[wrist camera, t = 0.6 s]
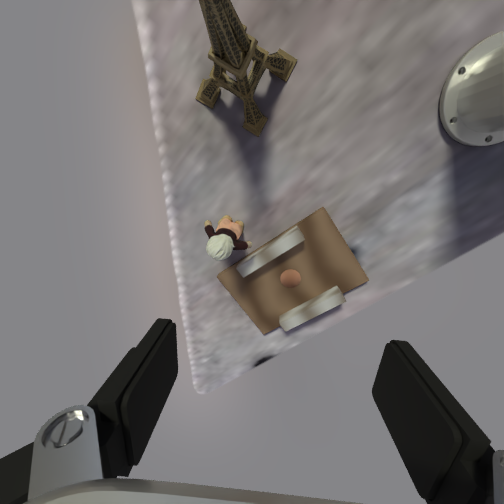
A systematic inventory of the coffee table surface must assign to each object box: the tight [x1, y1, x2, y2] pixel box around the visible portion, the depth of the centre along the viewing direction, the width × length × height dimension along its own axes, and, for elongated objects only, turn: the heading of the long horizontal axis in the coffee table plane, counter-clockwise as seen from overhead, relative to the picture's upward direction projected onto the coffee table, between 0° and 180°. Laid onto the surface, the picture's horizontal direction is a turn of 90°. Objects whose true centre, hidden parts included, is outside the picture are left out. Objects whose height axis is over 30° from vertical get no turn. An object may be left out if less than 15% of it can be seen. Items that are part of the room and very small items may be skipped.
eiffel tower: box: [195, 0, 297, 137], centre depth 21 cm, size 11×11×25 cm
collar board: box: [217, 207, 369, 334], centre depth 41 cm, size 22×15×4 cm
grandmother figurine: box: [204, 215, 252, 261], centre depth 34 cm, size 8×4×13 cm, turn 75°
